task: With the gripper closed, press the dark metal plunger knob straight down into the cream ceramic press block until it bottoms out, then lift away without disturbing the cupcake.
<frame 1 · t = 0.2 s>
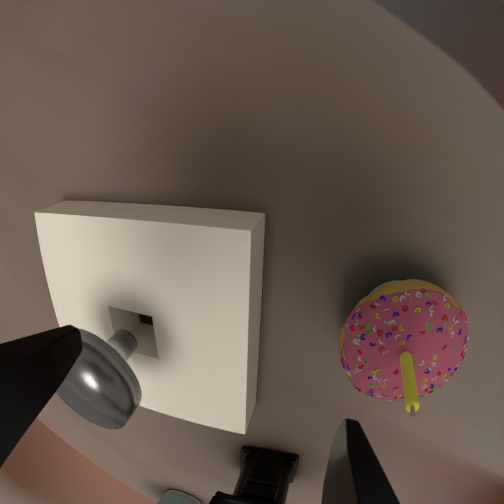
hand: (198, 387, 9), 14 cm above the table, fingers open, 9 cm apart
disposable coffee cup: (185, 497, 42), on the table
cupcake: (395, 307, 22), on the table
plunger: (104, 363, 20), point 8 cm above the table, slide at 0.0 cm
press block: (156, 307, 27), on the table
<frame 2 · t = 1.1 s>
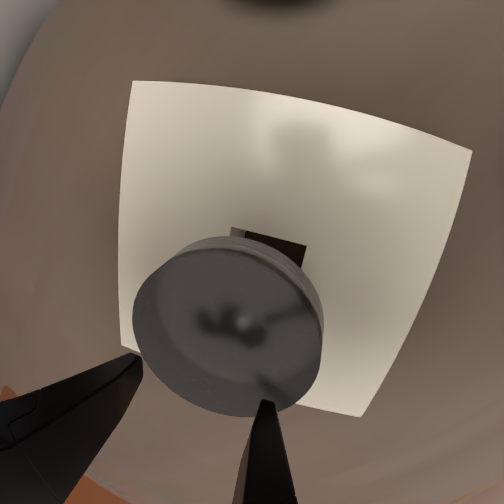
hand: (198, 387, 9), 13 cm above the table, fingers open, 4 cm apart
plunger: (241, 308, 14), point 8 cm above the table, slide at 0.0 cm
press block: (274, 246, 21), on the table
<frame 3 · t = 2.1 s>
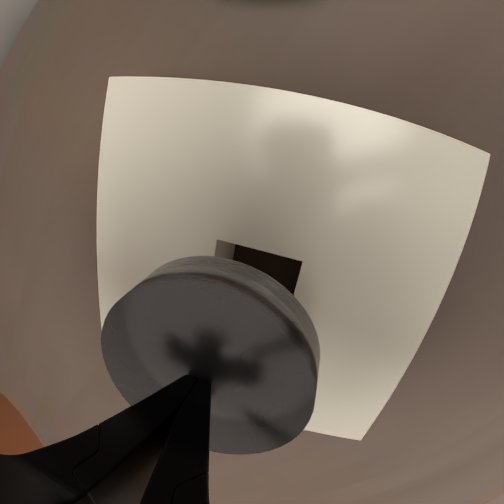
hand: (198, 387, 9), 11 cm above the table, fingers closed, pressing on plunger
plunger: (226, 334, 12), point 8 cm above the table, slide at 0.1 cm, touching gripper
press block: (267, 258, 19), on the table
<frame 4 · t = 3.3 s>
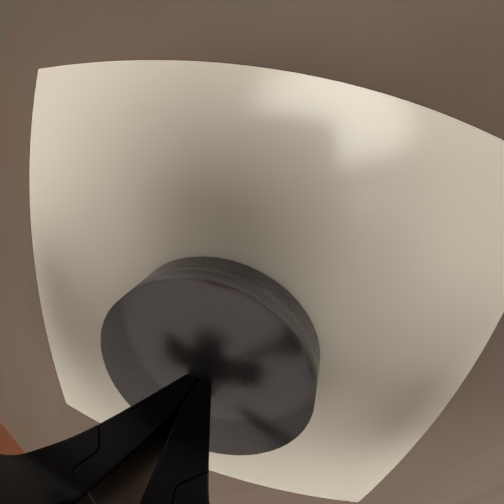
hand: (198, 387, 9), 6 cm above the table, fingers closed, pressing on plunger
plunger: (226, 335, 12), point 3 cm above the table, slide at 4.9 cm, touching gripper
press block: (247, 296, 15), on the table
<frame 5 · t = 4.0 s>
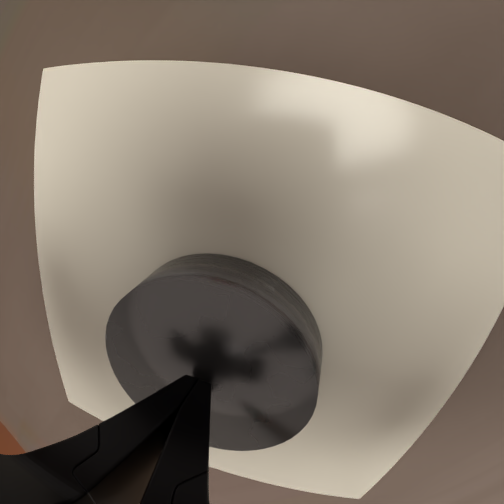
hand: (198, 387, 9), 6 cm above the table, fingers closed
plunger: (229, 331, 12), point 3 cm above the table, slide at 4.9 cm
press block: (249, 294, 15), on the table
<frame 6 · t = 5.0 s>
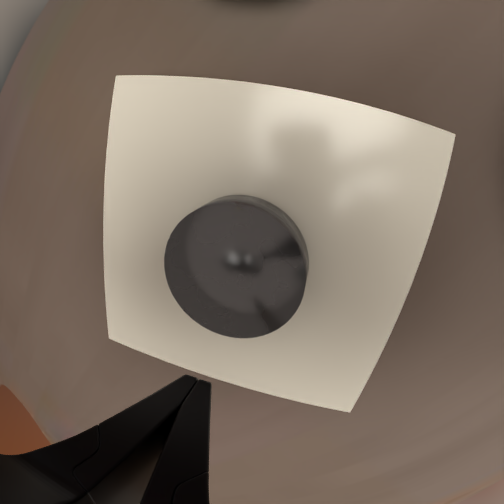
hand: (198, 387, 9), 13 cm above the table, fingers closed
plunger: (246, 254, 18), point 3 cm above the table, slide at 4.9 cm
press block: (258, 237, 21), on the table
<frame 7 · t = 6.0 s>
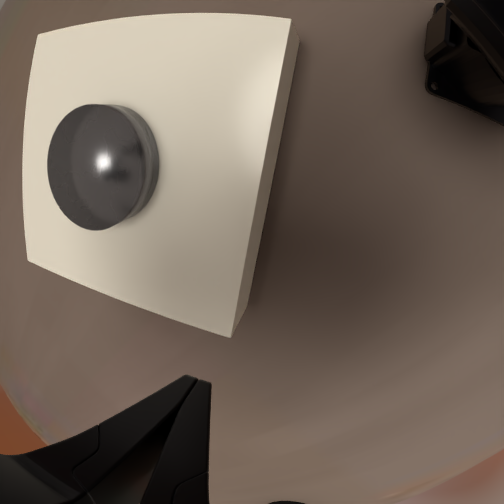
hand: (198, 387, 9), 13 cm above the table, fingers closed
plunger: (118, 161, 18), point 3 cm above the table, slide at 4.9 cm
press block: (144, 156, 21), on the table
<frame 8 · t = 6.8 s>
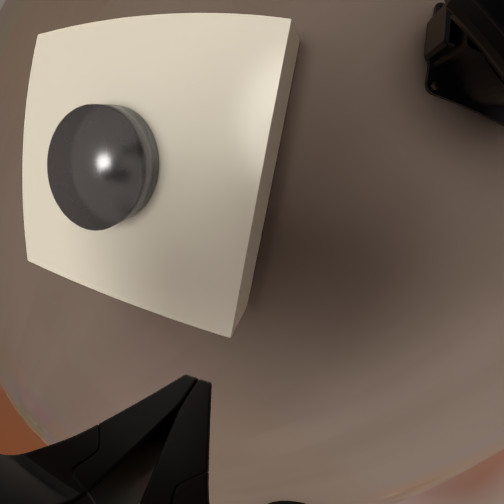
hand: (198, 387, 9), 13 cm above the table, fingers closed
plunger: (118, 161, 18), point 3 cm above the table, slide at 4.9 cm
press block: (144, 156, 21), on the table
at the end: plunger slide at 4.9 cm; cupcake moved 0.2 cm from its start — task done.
